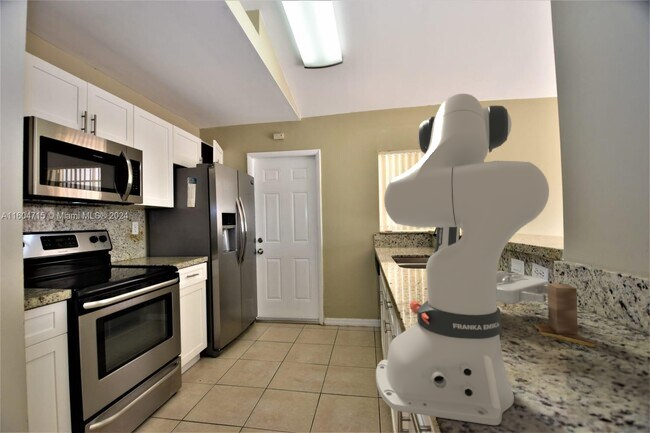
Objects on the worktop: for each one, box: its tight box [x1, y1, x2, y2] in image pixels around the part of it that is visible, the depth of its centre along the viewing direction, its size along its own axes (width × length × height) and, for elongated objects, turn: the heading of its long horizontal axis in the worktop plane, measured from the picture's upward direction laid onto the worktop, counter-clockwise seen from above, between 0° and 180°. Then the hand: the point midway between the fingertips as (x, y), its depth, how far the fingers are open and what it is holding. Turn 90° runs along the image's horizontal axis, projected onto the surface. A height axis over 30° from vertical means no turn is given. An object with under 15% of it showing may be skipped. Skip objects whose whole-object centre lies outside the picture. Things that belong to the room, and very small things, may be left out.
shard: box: [533, 323, 598, 348], centre depth 64 cm, size 11×8×2 cm
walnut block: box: [547, 282, 579, 335], centre depth 65 cm, size 4×4×11 cm
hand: (554, 295), depth 67 cm, fingers open, 8 cm apart
